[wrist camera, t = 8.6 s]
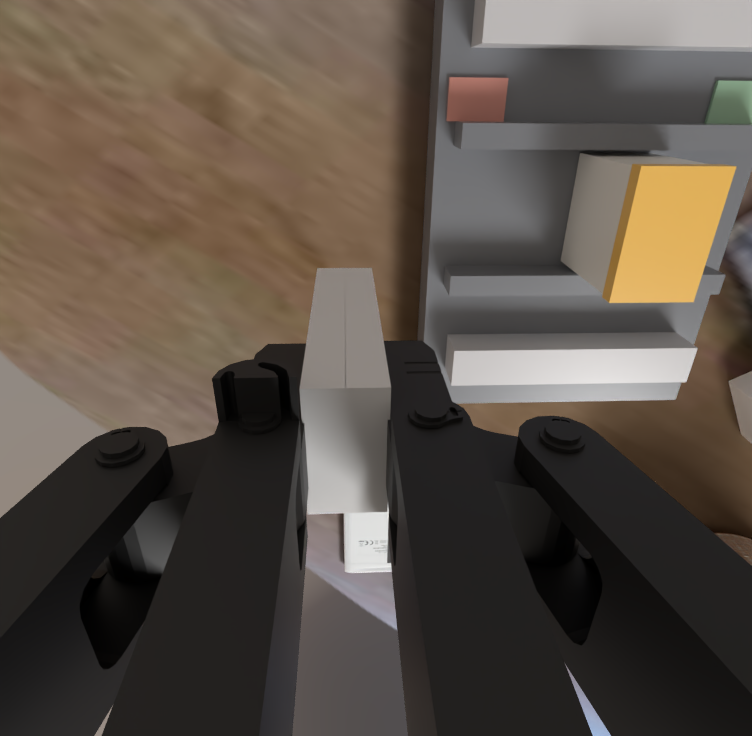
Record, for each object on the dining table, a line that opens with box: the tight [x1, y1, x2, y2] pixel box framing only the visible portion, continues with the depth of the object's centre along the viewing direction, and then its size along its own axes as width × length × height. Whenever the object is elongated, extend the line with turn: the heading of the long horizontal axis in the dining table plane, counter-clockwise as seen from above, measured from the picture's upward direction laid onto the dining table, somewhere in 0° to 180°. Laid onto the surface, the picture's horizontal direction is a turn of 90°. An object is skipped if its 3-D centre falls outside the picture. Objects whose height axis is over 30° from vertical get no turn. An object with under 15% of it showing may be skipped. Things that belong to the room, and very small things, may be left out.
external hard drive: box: [344, 508, 392, 573], centre depth 44 cm, size 2×8×12 cm
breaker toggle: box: [561, 153, 737, 303], centre depth 26 cm, size 4×6×7 cm
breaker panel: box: [417, 0, 752, 403], centre depth 30 cm, size 18×26×5 cm
